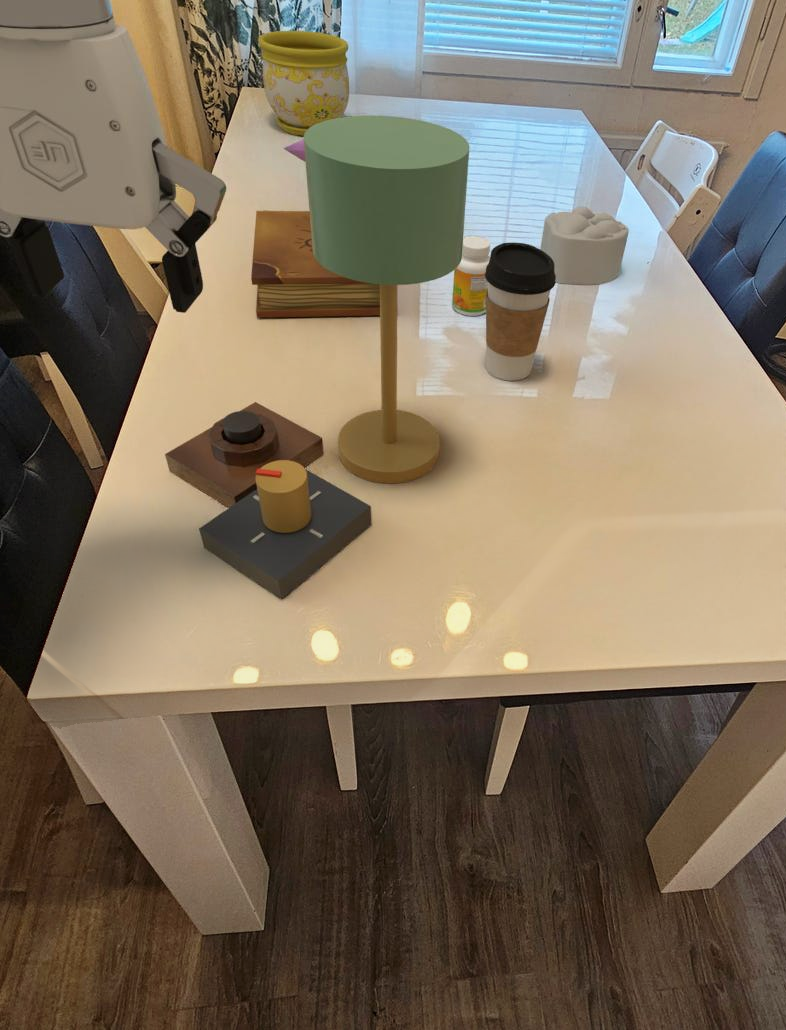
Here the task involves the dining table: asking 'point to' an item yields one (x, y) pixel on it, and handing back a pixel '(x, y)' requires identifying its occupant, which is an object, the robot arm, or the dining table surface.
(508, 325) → the coffee cup
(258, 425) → the power button
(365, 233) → the lamp
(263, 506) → the dimmer knob
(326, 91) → the flowerpot
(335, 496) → the dimmer panel
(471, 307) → the supplement bottle
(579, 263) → the lumpy-topped squat cylinder
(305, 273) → the diary
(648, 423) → the dining table surface
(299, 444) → the switch block
